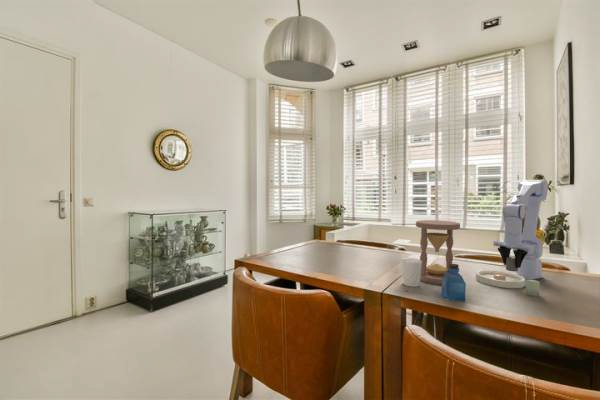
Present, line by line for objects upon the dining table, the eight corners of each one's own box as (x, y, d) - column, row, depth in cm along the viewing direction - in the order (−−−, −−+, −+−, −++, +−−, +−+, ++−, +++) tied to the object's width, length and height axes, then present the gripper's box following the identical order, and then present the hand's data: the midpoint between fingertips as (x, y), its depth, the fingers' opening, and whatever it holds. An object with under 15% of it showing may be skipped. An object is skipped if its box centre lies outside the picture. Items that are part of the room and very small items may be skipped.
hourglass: (445, 272, 138) (446, 220, 137) (467, 284, 120) (469, 224, 119) (408, 272, 138) (409, 220, 137) (425, 285, 120) (426, 224, 119)
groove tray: (493, 273, 136) (493, 268, 136) (534, 285, 120) (534, 279, 120) (467, 277, 130) (467, 272, 130) (506, 290, 114) (506, 284, 114)
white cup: (421, 282, 123) (422, 259, 123) (420, 288, 116) (421, 263, 116) (402, 280, 127) (402, 257, 126) (400, 285, 119) (400, 261, 119)
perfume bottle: (465, 301, 103) (466, 267, 103) (446, 299, 105) (447, 266, 104) (459, 294, 109) (460, 263, 109) (441, 293, 111) (442, 262, 110)
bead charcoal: (510, 268, 123) (510, 256, 123) (520, 270, 119) (520, 258, 119) (503, 269, 121) (503, 257, 121) (513, 271, 118) (513, 259, 117)
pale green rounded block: (529, 292, 112) (530, 279, 112) (541, 295, 108) (542, 282, 108) (523, 293, 111) (523, 280, 111) (534, 297, 107) (535, 283, 107)
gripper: (489, 231, 125) (488, 262, 125) (525, 236, 111) (524, 271, 112) (500, 230, 127) (499, 261, 128) (537, 235, 114) (536, 270, 115)
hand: (511, 266), depth 120 cm, fingers closed on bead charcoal, 4 cm apart
